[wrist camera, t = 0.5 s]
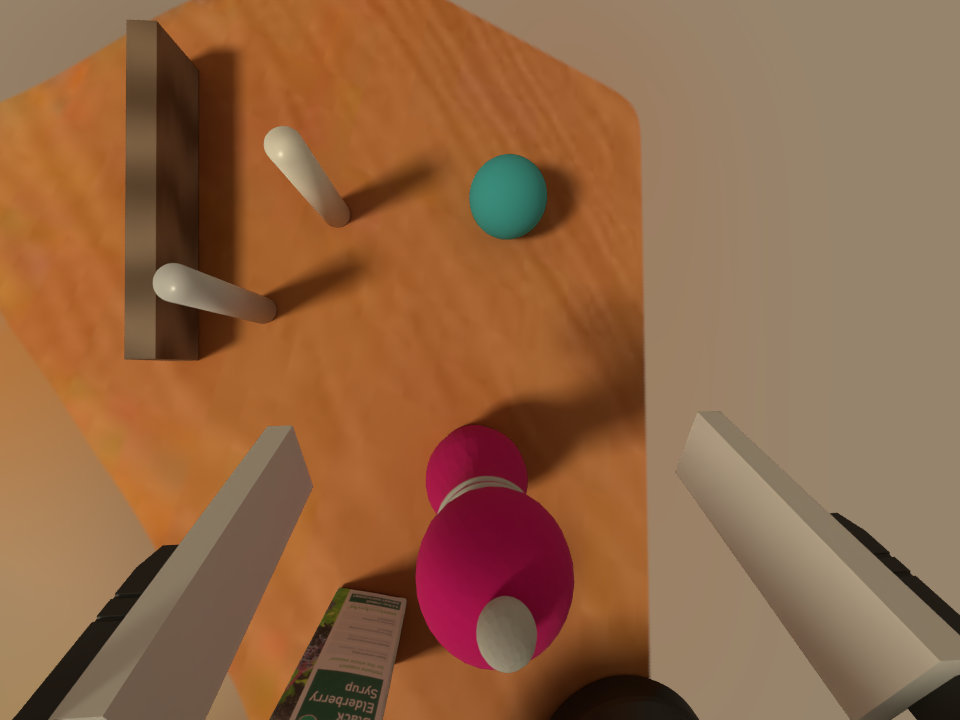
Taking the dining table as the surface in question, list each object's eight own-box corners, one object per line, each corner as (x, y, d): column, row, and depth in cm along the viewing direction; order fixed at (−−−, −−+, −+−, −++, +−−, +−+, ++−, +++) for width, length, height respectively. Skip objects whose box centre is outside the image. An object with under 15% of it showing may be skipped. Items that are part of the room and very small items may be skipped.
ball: (537, 250, 30) (558, 220, 24) (468, 250, 30) (472, 219, 24) (535, 182, 30) (555, 136, 24) (467, 181, 30) (470, 134, 24)
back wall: (198, 360, 28) (155, 358, 24) (172, 360, 28) (124, 359, 24) (198, 69, 29) (156, 20, 25) (172, 68, 28) (126, 19, 24)
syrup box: (408, 595, 29) (360, 827, 14) (393, 668, 28) (329, 980, 14) (339, 584, 28) (216, 810, 14) (323, 658, 28) (181, 967, 13)
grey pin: (276, 323, 28) (194, 301, 19) (248, 323, 28) (152, 302, 19) (276, 296, 29) (194, 262, 20) (248, 297, 28) (152, 263, 19)
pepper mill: (464, 401, 29) (483, 467, 9) (532, 451, 30) (691, 619, 10) (412, 471, 29) (316, 698, 9) (482, 522, 29) (539, 850, 9)
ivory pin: (350, 227, 29) (303, 163, 20) (323, 227, 29) (264, 163, 20) (350, 201, 29) (303, 126, 20) (323, 201, 29) (263, 125, 20)
